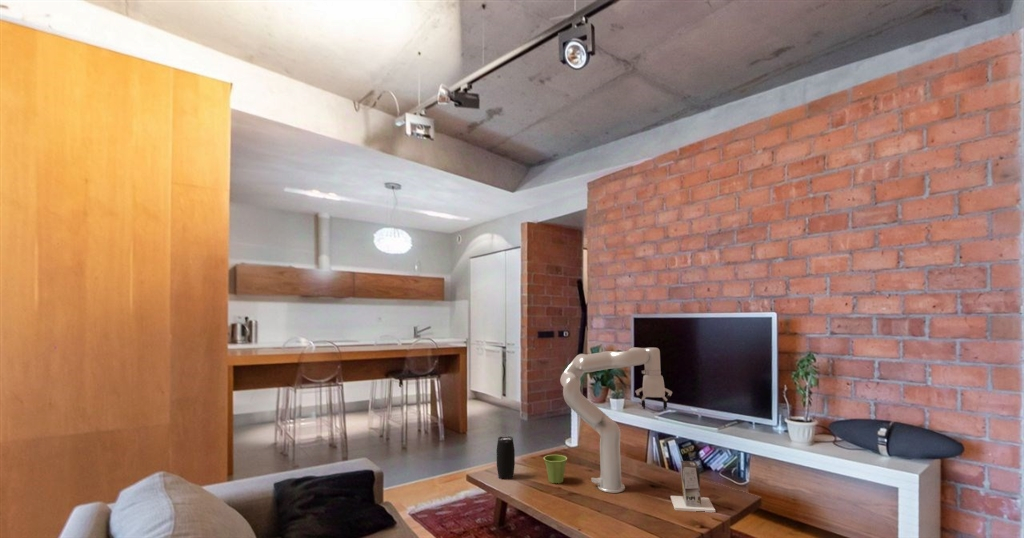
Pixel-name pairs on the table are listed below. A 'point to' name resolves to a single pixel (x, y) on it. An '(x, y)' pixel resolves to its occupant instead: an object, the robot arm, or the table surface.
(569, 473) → the table surface
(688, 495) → the coffee box
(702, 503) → the rest mat
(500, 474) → the portable speaker
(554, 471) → the plant pot
